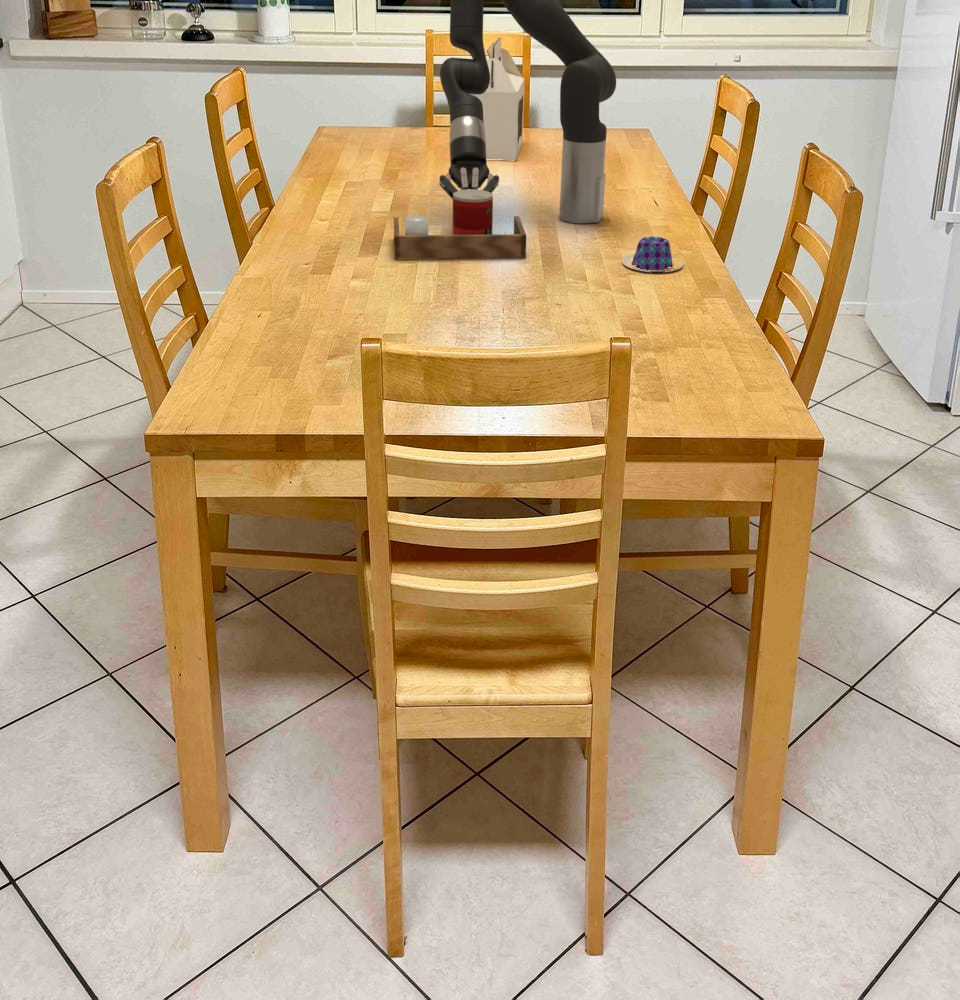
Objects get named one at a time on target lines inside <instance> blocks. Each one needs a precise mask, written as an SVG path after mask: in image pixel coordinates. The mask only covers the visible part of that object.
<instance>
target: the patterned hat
mask: <svg viewBox="0 0 960 1000" xmlns="http://www.w3.org/2000/svg"><path fill="white" fill-rule="evenodd" d="M669 241H670V240H668V239H667V238H664V237H662V236H645V237H642V238H640V239H639V241H638V243H637V246H636V249H635V253H633V254H629V255H627V256H624V257H623V258H622V260H621V262H622V264H623V265H624V266H625V267H627V268H630V269H632V270H636V271H638V272H639V271H640V272H646V273H651V272H650V271H646V270H665V269H667V268H668V267H672V266H673V267H674V265H673V263H672V258H675V259H677V260H679V261H680V262H681V267H679V268H678V269H675V270H671V271H667V270H668V269H667V270H665V272H664V273H669V272H673V271H676V270H679V269H682V268H683V267H684V263H683V261H682V260H681V259H679V258H677V257H675V256H672V250H671V244H670V242H669ZM630 258H633V261H632V263H631V265H632V266H633V265H636V266H633V267H637V268H640V270H638V269H635V268H633V267H630V266H629V265H628V264H627V262H628V261H629V260H630ZM644 269H646V270H645V271H643V270H644Z"/></svg>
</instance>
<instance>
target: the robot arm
mask: <svg viewBox="0 0 960 1000" xmlns="http://www.w3.org/2000/svg"><path fill="white" fill-rule="evenodd" d="M500 1H501V2H502V3H503V4H502V5H504V7H505V8H506V9H507V11H508V12H509V14H510V15H511V17H513V19H514V20H515V21H516V23H517V24H518V26H520V28H521V29H522V30H523V31H524V32H525V33H527V35H529V37H531V38H532V39H533V40H536V41H537V42H538V43H540V44H541V45H542V46H544V47H545V48H547V49H548V50H549V51H551V52H552V53H553V54H554V55H556V56H557V58H558V59H560V61H561V63H563V65H564V66H565V69H564V71H563V72H562V73H563V74H562V76H561V79H560V85H559V86H560V89H559V121H560V125H561V128H562V132H563V133H562V152H561V153H562V154H561V155H562V157H561V172H560V173H561V176H560V177H561V178H560V193H559V214H558V215H559V216H558V217H559V219H560V220H562V221H563V222H567V223H570V224H571V223H573V224H592V223H593V224H594V223H595V224H598V223H600V222H601V220H602V218H603V217H604V208H605V207H604V205H605V204H604V203H605V192H606V191H605V190H606V189H605V188H606V173H605V164H606V163H605V160H606V159H605V158H606V147H607V145H606V144H607V132H608V131H607V130H608V129H607V126H606V124H605V123H603V122H601V119H600V103H602V102H605V101H607V100H610V98H611V97H612V96H613V94H614V93H615V91H616V87H617V75H616V73H615V70H614V68H613V66H612V64H611V63H610V62H609V61H608V60H607V59H606V58H605V56H604V55H603V54H602V53H601V52H600V51H599V50H598V49H597V48H596V47H595V46H594V45H593V43H591V41H589V39H588V38H587V37H586V36H585V35H584V34H583V32H582V31H580V29H579V28H578V26H577V25H576V24H575V21H573V19H572V18H571V17H570V15H569V14H568V12H567V11H565V9H564V8H563V6H562V5H561V4H560V2H559V0H500ZM449 12H450V13H449V14H450V15H449V17H450V19H449V41H450V42H449V43H450V44H451V46H453V47H455V48H457V49H460V50H463V51H465V52H467V53H468V54H469V55H470V56H471V58H465V57H464V58H463V57H449V58H447V59H445V60H444V61H443V62H442V64H441V66H440V70H439V79H440V84H441V87H442V90H443V92H444V96H445V97H446V101H447V104H448V108H449V123H450V127H449V129H450V130H449V159H450V160H449V161H450V166H449V168H448V172H447V173H446V174H445V175H444V174H441V175H440V176H439V183H438V185H439V186H440V187H441V188H442V190H444V191H445V193H446V194H447V195H448V196H449V197H450V198H451V199H452V200H453V193H455V192H457V191H459V190H458V189H460V190H479V189H480V188H481V187H482V186H483V184H484V183H485V182H486V185H485V186H484V187H483V188H482V190H484V191H488V192H490V193H492V194H493V192H494V191H495V189H497V187H498V186H499V184H500V183H499V182H500V176H499V175H497V174H496V175H493V174H492V173H490V168H489V167H488V165H487V163H488V162H487V160H486V140H485V130H484V121H483V105H482V102H481V100H480V99H479V98H477V97H476V96H473V95H471V94H477V95H478V94H483V93H484V92H485V91H486V90H487V88H488V87H489V84H490V72H489V67H488V63H487V60H488V59H487V56H486V52H485V45H484V35H483V34H484V0H450V11H449ZM452 182H453V183H454V184H455V185H456V186H457V188H458V189H457V188H456V187H455V185H454V184H453V183H452Z"/></svg>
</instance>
